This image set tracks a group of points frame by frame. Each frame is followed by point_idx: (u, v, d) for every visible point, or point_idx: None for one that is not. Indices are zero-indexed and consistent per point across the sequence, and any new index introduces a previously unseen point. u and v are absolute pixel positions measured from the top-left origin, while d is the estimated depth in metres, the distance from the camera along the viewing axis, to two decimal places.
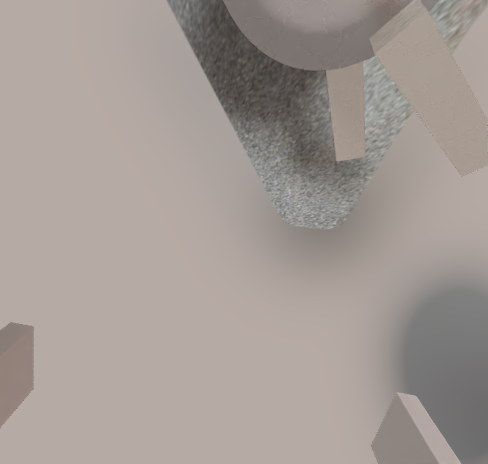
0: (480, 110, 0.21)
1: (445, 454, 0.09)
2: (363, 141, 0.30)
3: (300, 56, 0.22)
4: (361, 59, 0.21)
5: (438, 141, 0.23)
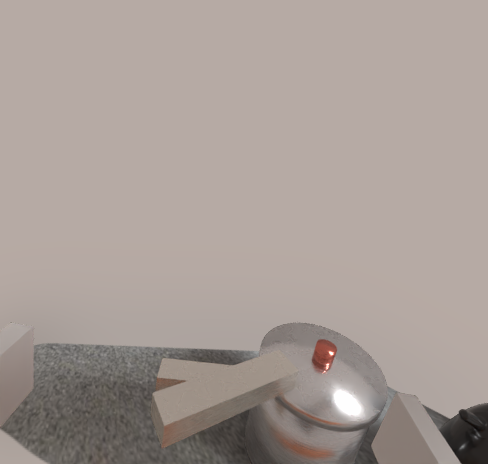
0: (226, 399, 0.25)
1: (445, 454, 0.09)
2: (175, 378, 0.34)
3: (270, 339, 0.38)
4: None
5: (204, 375, 0.27)
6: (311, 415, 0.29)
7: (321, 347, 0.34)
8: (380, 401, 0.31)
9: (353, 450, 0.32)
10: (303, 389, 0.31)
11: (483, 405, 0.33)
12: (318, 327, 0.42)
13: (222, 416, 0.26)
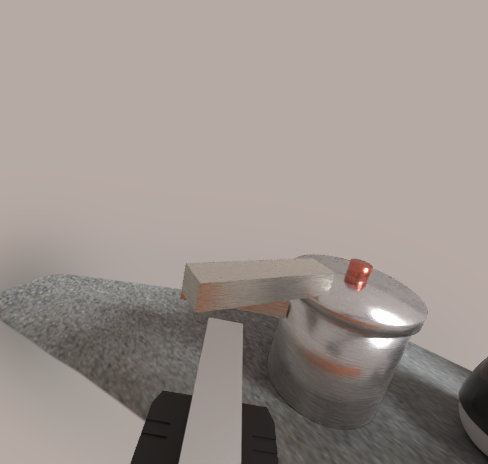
0: (262, 277, 0.24)
1: (233, 357, 0.10)
2: None
3: None
4: None
5: (238, 261, 0.26)
6: (348, 316, 0.27)
7: (355, 263, 0.32)
8: (420, 314, 0.29)
9: (389, 367, 0.30)
10: (338, 296, 0.29)
11: None
12: (348, 261, 0.40)
13: (257, 298, 0.24)
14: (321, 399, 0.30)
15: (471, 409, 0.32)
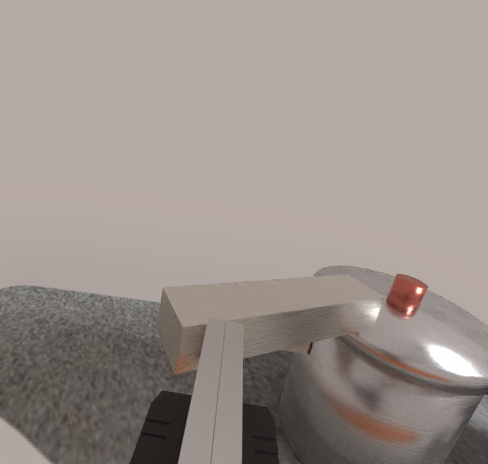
0: (284, 311, 0.15)
1: (233, 357, 0.10)
2: None
3: (324, 276, 0.27)
4: None
5: (245, 282, 0.17)
6: (408, 363, 0.18)
7: (404, 281, 0.24)
8: None
9: (458, 432, 0.21)
10: (386, 330, 0.20)
11: None
12: (382, 274, 0.31)
13: (274, 342, 0.16)
14: None
15: None
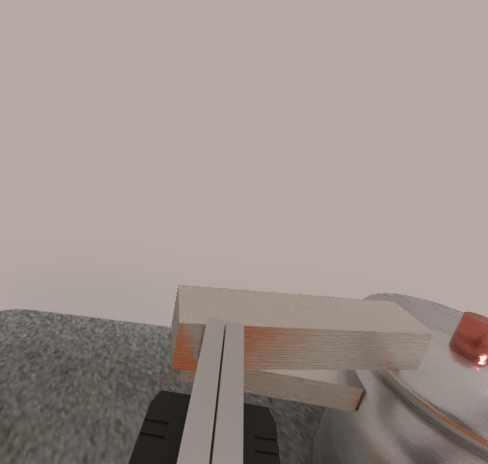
0: (295, 326, 0.14)
1: (234, 358, 0.10)
2: None
3: None
4: None
5: (265, 292, 0.17)
6: (457, 421, 0.15)
7: (474, 321, 0.19)
8: None
9: None
10: (437, 376, 0.17)
11: None
12: (456, 311, 0.26)
13: (283, 359, 0.14)
14: None
15: None
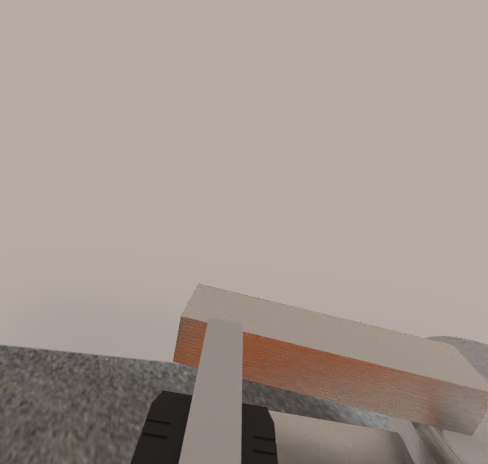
0: (303, 344, 0.13)
1: (233, 357, 0.10)
2: None
3: None
4: None
5: (285, 305, 0.16)
6: None
7: None
8: None
9: None
10: None
11: None
12: None
13: (289, 378, 0.13)
14: None
15: None
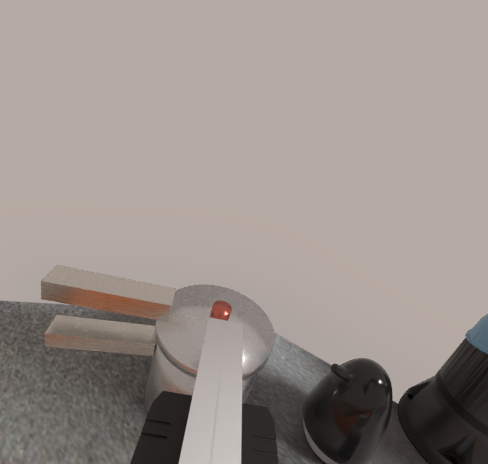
0: (94, 290, 0.33)
1: (233, 357, 0.10)
2: (65, 334, 0.33)
3: (195, 289, 0.42)
4: None
5: (99, 274, 0.35)
6: (161, 343, 0.32)
7: (215, 305, 0.36)
8: None
9: None
10: (175, 326, 0.34)
11: (354, 360, 0.38)
12: (251, 302, 0.42)
13: (92, 303, 0.33)
14: None
15: (306, 419, 0.39)
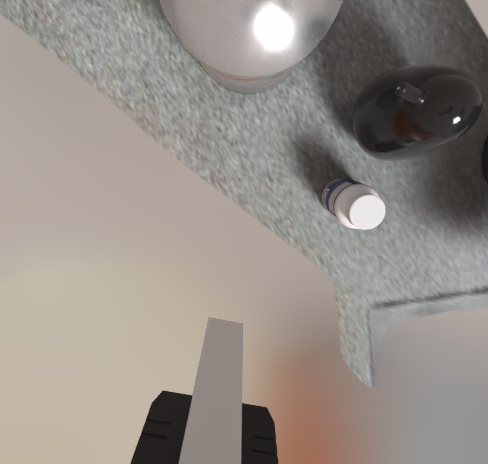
0: None
1: (233, 357, 0.10)
2: None
3: None
4: None
5: None
6: (162, 7, 0.24)
7: None
8: (249, 69, 0.24)
9: (268, 79, 0.30)
10: None
11: (448, 79, 0.24)
12: None
13: None
14: (217, 80, 0.34)
15: (357, 104, 0.34)
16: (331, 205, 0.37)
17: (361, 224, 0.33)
